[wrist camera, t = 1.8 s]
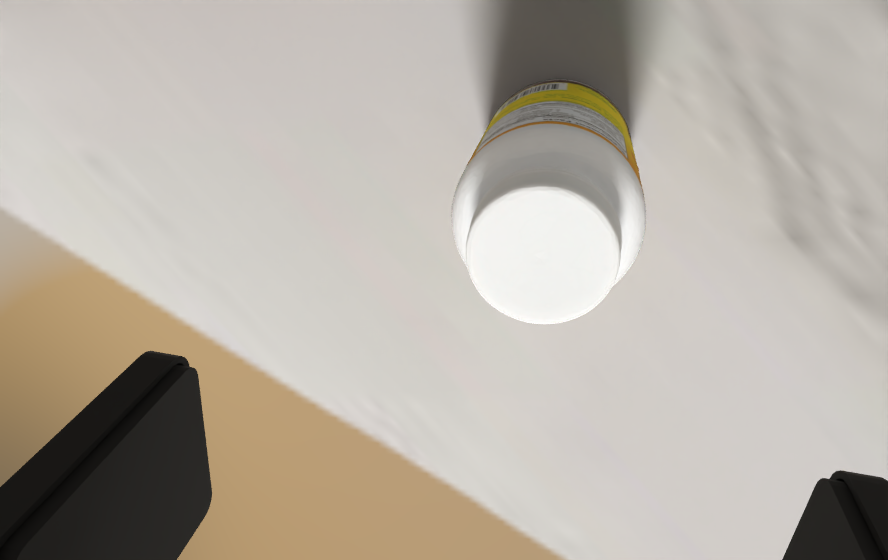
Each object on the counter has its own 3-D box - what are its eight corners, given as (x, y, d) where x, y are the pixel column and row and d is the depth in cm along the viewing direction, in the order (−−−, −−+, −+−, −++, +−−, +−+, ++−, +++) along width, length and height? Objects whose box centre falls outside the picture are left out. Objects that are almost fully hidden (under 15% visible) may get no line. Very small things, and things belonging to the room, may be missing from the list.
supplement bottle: (578, 240, 27) (573, 386, 18) (461, 172, 27) (397, 287, 18) (662, 123, 25) (703, 228, 16) (533, 45, 24) (500, 108, 15)
